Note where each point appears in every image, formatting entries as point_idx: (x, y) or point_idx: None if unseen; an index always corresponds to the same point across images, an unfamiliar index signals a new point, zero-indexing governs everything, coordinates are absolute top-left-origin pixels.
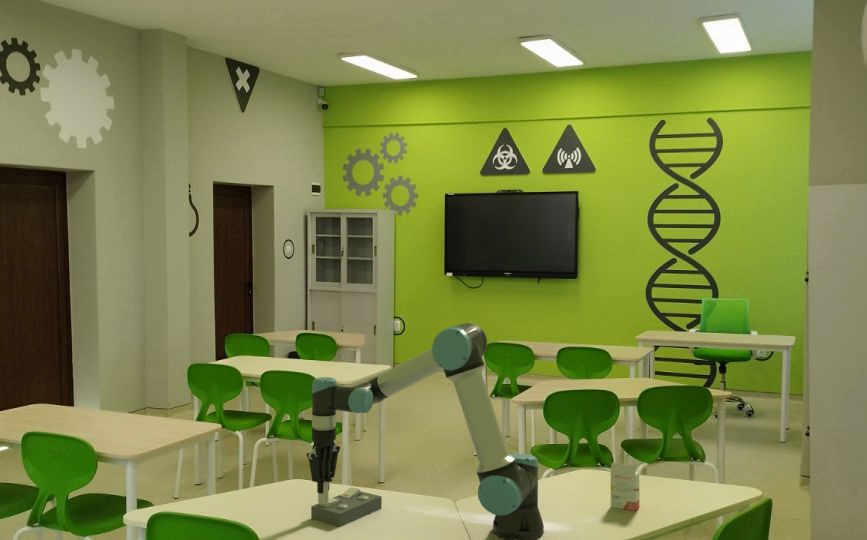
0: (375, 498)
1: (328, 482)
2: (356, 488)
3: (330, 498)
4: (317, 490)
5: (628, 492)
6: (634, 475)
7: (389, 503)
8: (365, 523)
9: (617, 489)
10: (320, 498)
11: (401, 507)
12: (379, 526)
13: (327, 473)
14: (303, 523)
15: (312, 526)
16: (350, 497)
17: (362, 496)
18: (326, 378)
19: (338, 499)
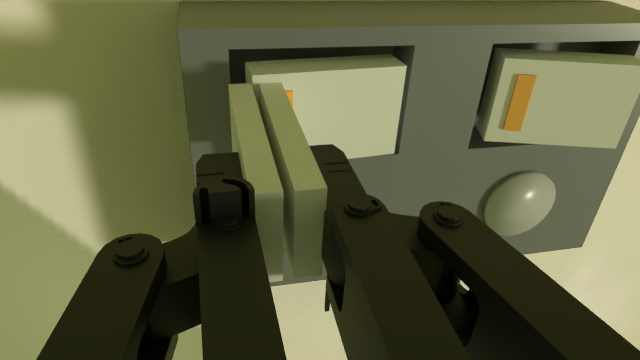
0: (538, 248)
1: (320, 269)
2: (624, 121)
3: (383, 80)
4: (197, 172)
5: None
6: None
7: (618, 183)
8: (325, 283)
9: None
10: (233, 130)
11: (577, 253)
12: (328, 338)
13: (346, 352)
14: (67, 24)
15: (83, 120)
16: (500, 139)
17: (537, 190)
18: None
19: (436, 94)
